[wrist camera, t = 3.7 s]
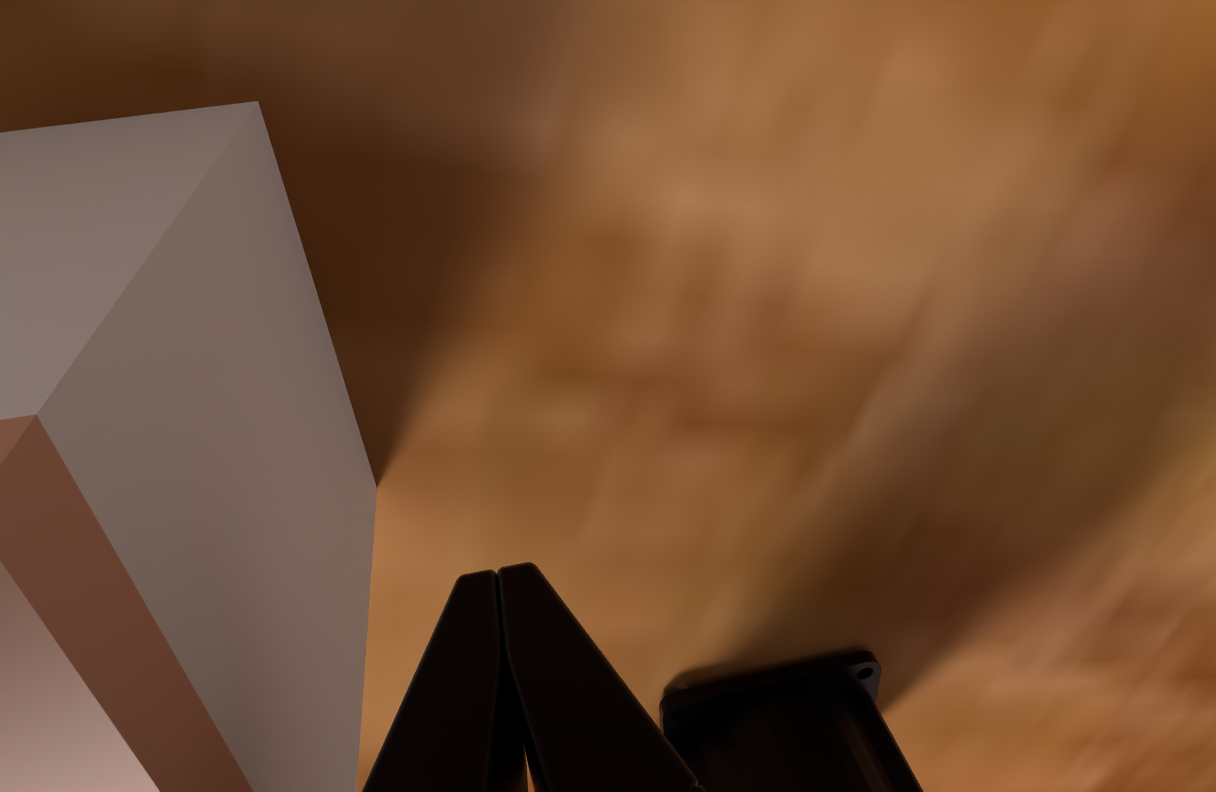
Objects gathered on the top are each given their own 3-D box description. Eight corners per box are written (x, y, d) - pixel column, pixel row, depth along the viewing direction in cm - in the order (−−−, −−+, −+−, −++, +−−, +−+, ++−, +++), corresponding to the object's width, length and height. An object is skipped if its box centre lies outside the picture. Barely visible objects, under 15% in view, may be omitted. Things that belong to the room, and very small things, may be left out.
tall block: (257, 100, 13) (-34, 513, 5) (377, 487, 17) (339, 1049, 9) (-156, 151, 12) (-1397, 751, 4) (80, 541, 16) (-257, 1205, 8)
